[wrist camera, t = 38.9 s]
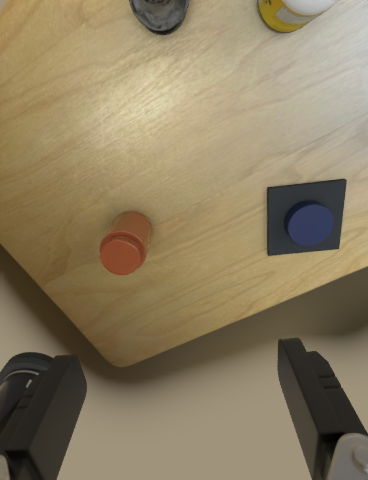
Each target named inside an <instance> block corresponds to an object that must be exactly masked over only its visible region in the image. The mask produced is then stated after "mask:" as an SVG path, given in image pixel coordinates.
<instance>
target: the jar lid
mask: <svg viewBox="0 0 368 480" xmlns="http://www.w3.org/2000/svg"><path fill="white" fill-rule="evenodd" d="M284 227H285V230H286V232H287V234H288V235H289V236H290V238H291V239H292V240H293V241H294V242H295V243H297V244H299V245H303V246H311V245H315V244H318V243H320V242H322V241H323V240H324V239H325V238H327V236H328V235H329V234H330V232H331V230H332V228H333V216H332V214H331V212H330V211H329V210H328V209H327V208H326V207H324V206H323V205H322V204H320V203H318V202H316V201H311V200H308V201H302V202H300V203H297V204H296V205H294V206H293V207H292V208H291V209H290V210H289V211H288V213H287V214H286V217H285V220H284Z"/></svg>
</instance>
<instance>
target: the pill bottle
mask: <svg viewBox="0 0 368 480" xmlns="http://www.w3.org/2000/svg"><path fill="white" fill-rule="evenodd" d="M338 1H339V0H257V7H258V11H259V15H260V17H261V19H262V21H263V22H264V24H265V25H266V26H267V27H268V28H270V29H271V30H273V31H275V32H278V33H289V32H293V31H296V30H298V29H300V28H301V27H303V26H304V25H306V24H307V23H309V22H310V21H312V20H313V19H315V18H316V17H318V16H319V15H321V14H322V13H324V12H325V11H327V10H328V9H330V8H331V7H332V6H334V5H335V4H336V3H337V2H338Z"/></svg>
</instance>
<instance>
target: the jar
mask: <svg viewBox="0 0 368 480" xmlns="http://www.w3.org/2000/svg"><path fill="white" fill-rule="evenodd" d="M151 236H152V226H151V223H150V222H149V220H148V219H147V218H146V217H145V216H144V215H142V214H140V213H138V212H133V211H129V212H125V213H122V214H120V215H119V216H118V217H117V218H116V219H115V221H114V222H113V224H112V226H111V227H110V229H109V230H108V232H107V233H106V235H105V236H104V238H103V240H102V241H101V244H100V259H101V262H102V264H103V266H104V267H105V268H106V269H107V270H108V271H109V272H111V273H113V274H116V275H127V274H130V273H132V272H134V271H135V270H136V269H137V268H139V267H140V266H141V265H142V264H143V262H144V260H145V257H146V254H147V250H148V247H149V243H150V240H151Z"/></svg>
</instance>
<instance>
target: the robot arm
mask: <svg viewBox="0 0 368 480" xmlns="http://www.w3.org/2000/svg"><path fill="white" fill-rule="evenodd" d="M278 375H279V381H280V385H281V388H282V391H283V394H284V397H285V400H286V403H287V406H288V409H289V412H290V415H291V418H292V421H293V424H294V427H295V430H296V433H297V436H298V439H299V442H300V445H301V448H302V451H303V454H304V457H305V460H306V463H307V466H308V469H309V472H310V475H311V478H312V480H368V433H367V432H366V430H365V429H364V427H363V425H362V423H361V421H360V419H359V417H358V416H357V414H356V412H355V410H354V408H353V407H352V405H351V403H350V401H349V399H348V397H347V396H346V394H345V392H344V390H343V388H341V385H340V383H339V381H338V379H337V378H336V377H335V374H334V372H333V370H332V368H331V367H330V365H329V363H328V362H327V360H325V359H324V358H323V357H322V356H321V355H320V354H319V353H318V352H316V351H312V352H306V350H305V348H304V346H303V344H302V342H301V340H300V339H299V338H289V339H279V341H278ZM86 391H87V383H86V379H85V376H84V373H83V371H82V368H81V365H80V362H79V359H78V357H77V355H75V354H73V355H60V356H55V357H54V359H53V360H52V362H51V364H50V366H49V368H48V370H46V371H38V370H35V369H29V368H21V369H16V370H14V371H12V372H10V373H9V374H8V375H7V376H6V378H5V379H4V381H3V383H2V385H1V386H0V480H56V479H57V476H58V474H59V471H60V468H61V465H62V462H63V459H64V456H65V454H66V451H67V448H68V445H69V442H70V440H71V437H72V434H73V431H74V428H75V425H76V422H77V420H78V417H79V414H80V411H81V408H82V405H83V403H84V400H85V397H86Z"/></svg>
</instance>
